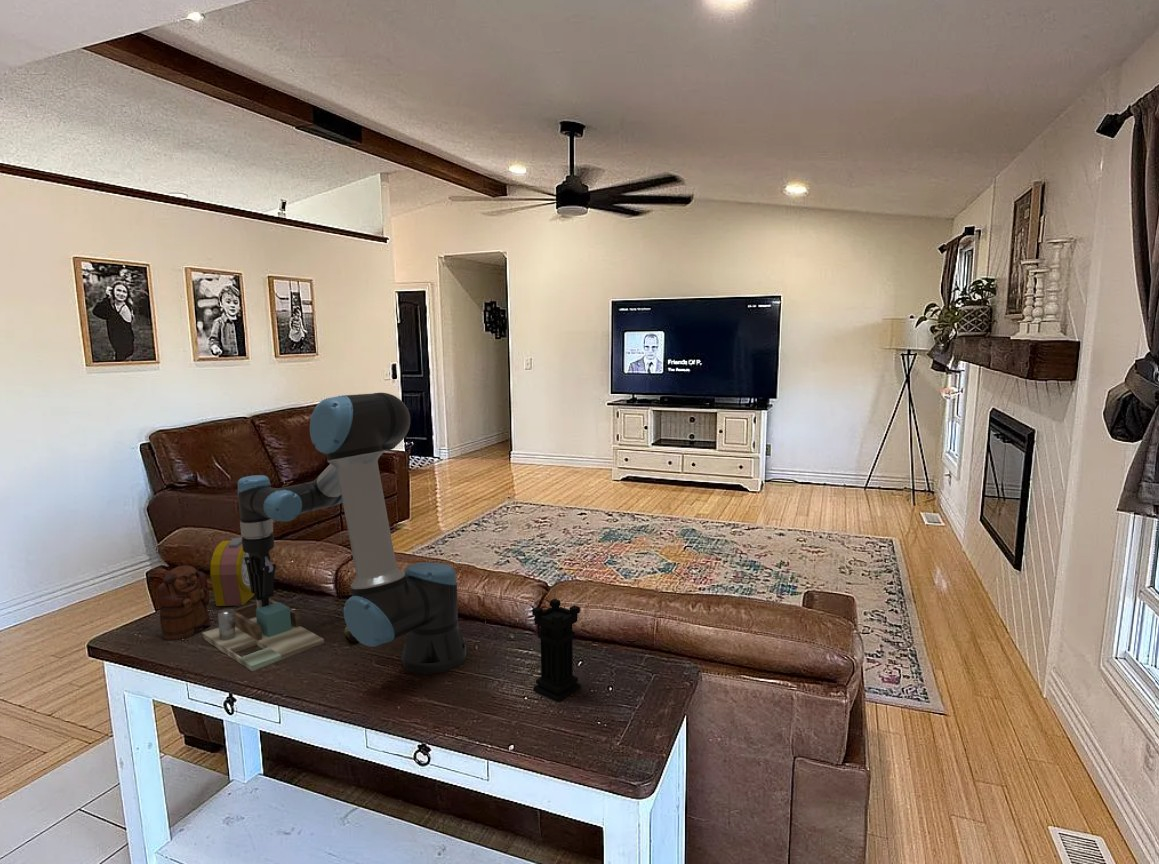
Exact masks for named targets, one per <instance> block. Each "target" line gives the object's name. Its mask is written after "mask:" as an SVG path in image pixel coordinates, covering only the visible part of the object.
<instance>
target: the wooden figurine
mask: <svg viewBox="0 0 1159 864" xmlns="http://www.w3.org/2000/svg"><path fill="white" fill-rule="evenodd" d="M162 581H163V582H162V583H161V584H160V585H159V586H158V587H157V604H158V605H160V606H161V607H160V610H159V619H160V620H159V621H160V627H161V631H162V634H163V638H164V639H165V640H170V641H171V640H182V639H186V638H189V637H193V635H194V634H198V633H199V632H201V631H203V630H204V629H205V628H206V627H210V626H211V625H212V624H211V620H210V619H211V618H210V614H209V610H208V607H207V605H209V603H210V590H209V589H208V587H209V586H208V580H207V575H206V574H205V572H203V571H200V570H198V569H197V568H196V567H193V566H190V565H180V566H176V567H174V568H172V569H171V570H169V571H168V572H167V573H166V574H165V576H164V577H163V578H162Z"/></svg>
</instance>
